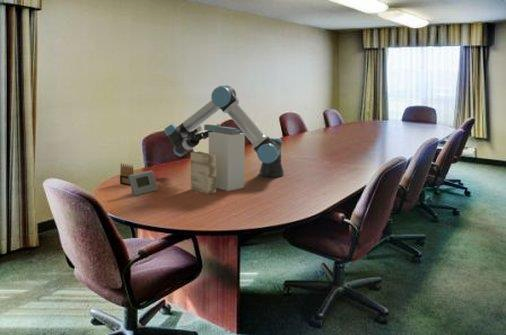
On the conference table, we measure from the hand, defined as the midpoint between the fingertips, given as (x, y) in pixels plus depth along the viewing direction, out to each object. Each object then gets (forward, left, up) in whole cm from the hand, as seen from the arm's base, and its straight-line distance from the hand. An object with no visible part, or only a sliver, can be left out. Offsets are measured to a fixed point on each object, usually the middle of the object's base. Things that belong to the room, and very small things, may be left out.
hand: (210, 126), depth 256 cm
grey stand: (0, +13, -32) cm, 35 cm away
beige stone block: (+15, +12, -32) cm, 37 cm away
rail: (0, +8, -2) cm, 8 cm away
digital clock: (+41, -5, -32) cm, 53 cm away
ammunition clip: (+39, -26, -32) cm, 57 cm away
